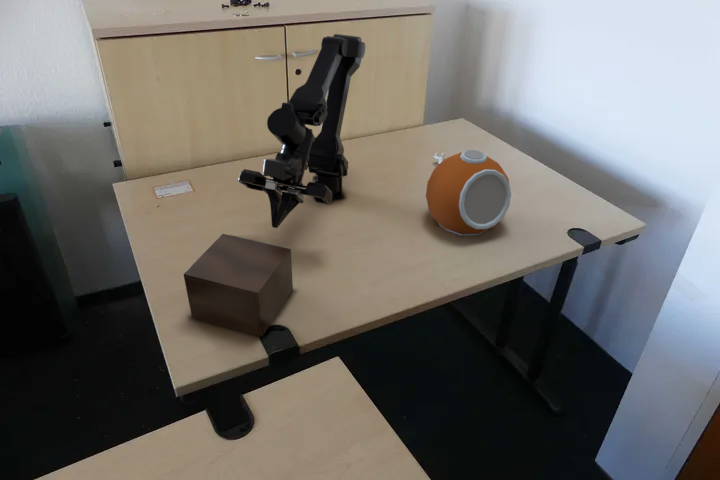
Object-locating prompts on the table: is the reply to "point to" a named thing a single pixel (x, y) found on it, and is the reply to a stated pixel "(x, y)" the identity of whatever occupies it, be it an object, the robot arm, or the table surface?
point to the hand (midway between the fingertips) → (274, 227)
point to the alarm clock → (468, 193)
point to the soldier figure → (439, 157)
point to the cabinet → (240, 284)
